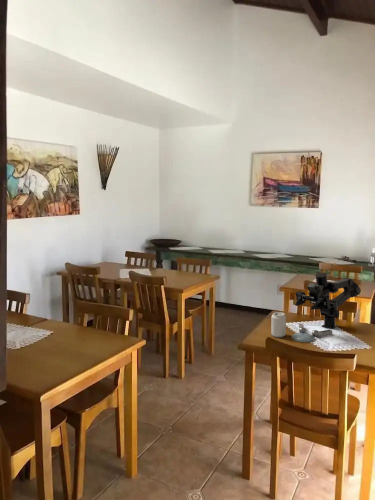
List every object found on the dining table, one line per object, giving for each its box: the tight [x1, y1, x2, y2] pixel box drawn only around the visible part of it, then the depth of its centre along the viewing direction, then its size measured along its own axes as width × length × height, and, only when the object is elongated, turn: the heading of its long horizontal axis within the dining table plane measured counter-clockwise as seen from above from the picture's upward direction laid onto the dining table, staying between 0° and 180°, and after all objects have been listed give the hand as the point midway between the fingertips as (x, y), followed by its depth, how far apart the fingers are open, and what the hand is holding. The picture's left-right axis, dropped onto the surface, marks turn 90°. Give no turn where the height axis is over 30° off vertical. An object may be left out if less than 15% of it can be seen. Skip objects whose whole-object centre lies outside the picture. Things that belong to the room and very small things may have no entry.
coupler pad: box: [291, 332, 315, 343], centre depth 211 cm, size 11×11×1 cm
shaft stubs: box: [298, 323, 333, 338], centre depth 218 cm, size 10×19×3 cm, turn 48°
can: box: [270, 311, 287, 338], centre depth 215 cm, size 8×8×12 cm
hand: (303, 306), depth 210 cm, fingers open, 9 cm apart
